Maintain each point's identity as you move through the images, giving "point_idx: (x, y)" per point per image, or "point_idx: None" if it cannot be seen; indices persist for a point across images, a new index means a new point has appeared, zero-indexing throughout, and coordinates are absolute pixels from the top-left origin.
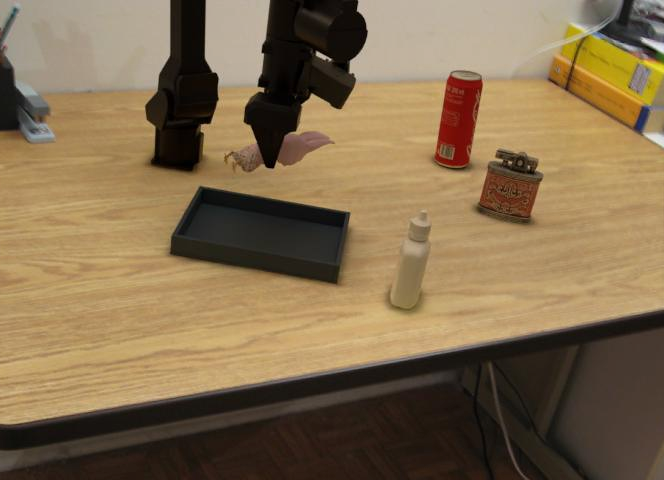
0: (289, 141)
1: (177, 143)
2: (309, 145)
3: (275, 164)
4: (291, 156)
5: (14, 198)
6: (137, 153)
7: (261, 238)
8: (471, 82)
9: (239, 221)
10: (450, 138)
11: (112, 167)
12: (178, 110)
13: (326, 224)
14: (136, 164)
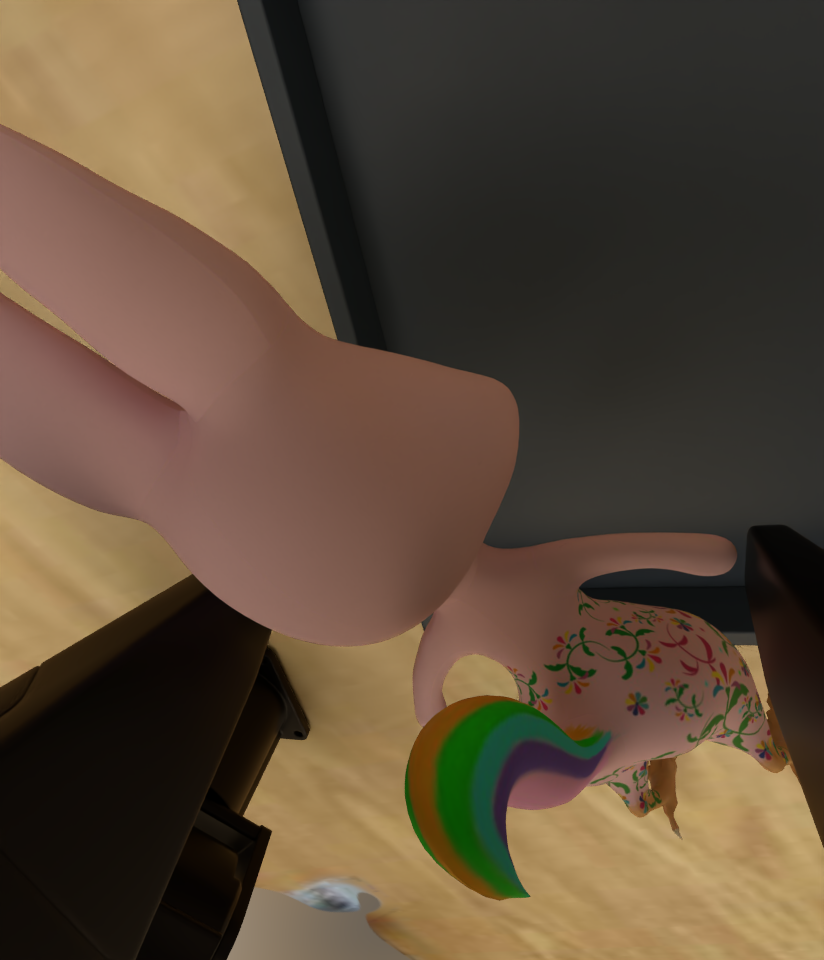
0: (393, 573)
1: (245, 750)
2: (258, 353)
3: (788, 541)
4: (501, 451)
5: (665, 909)
6: (276, 758)
7: (625, 324)
8: None
9: (518, 448)
10: None
11: (385, 788)
12: (223, 902)
13: (315, 72)
14: (331, 753)
